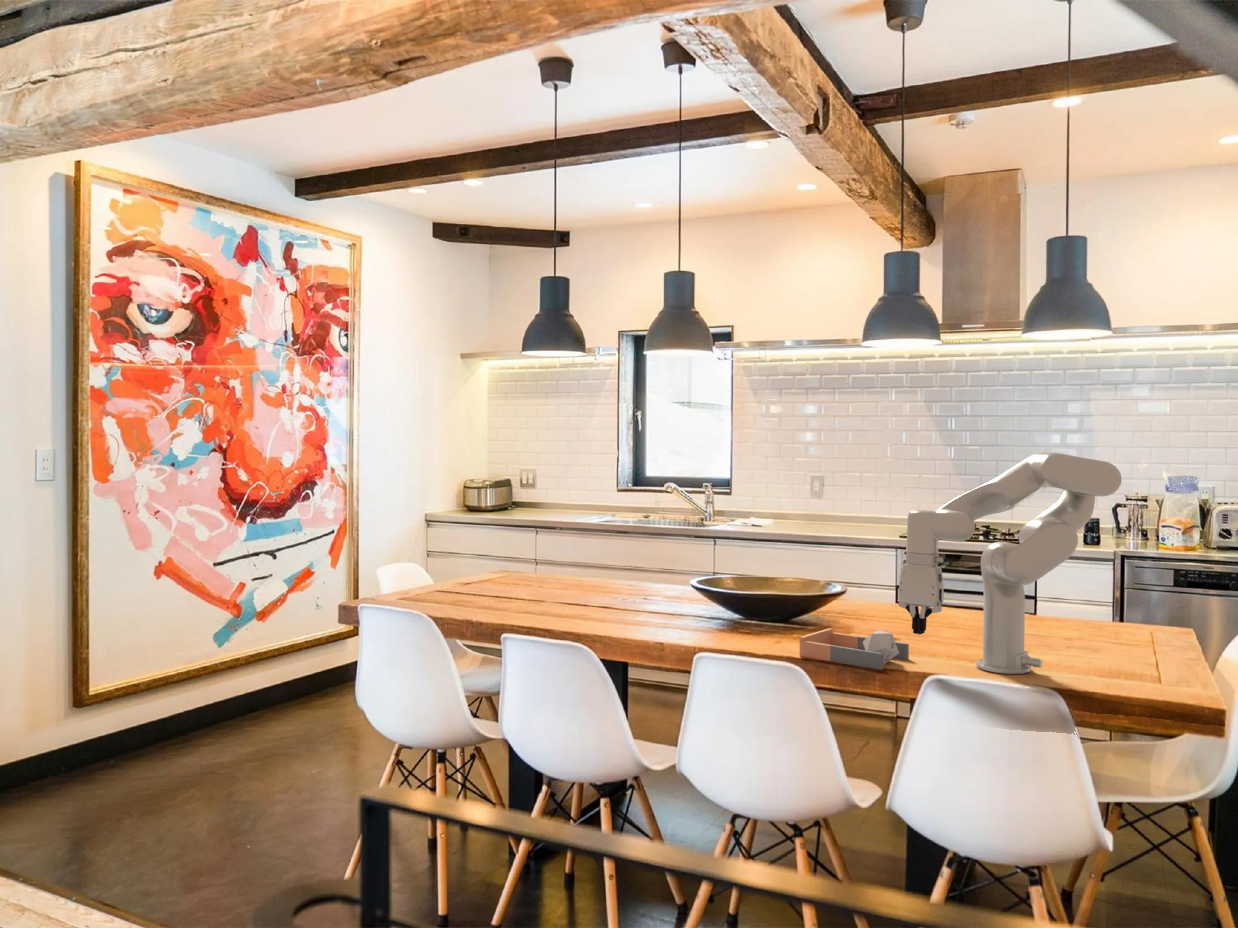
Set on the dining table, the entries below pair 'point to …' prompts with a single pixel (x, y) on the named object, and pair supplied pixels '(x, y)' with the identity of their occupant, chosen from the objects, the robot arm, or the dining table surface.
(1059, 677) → the dining table surface
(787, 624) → the dining table surface
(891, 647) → the die
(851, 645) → the two-tone shallow tray
